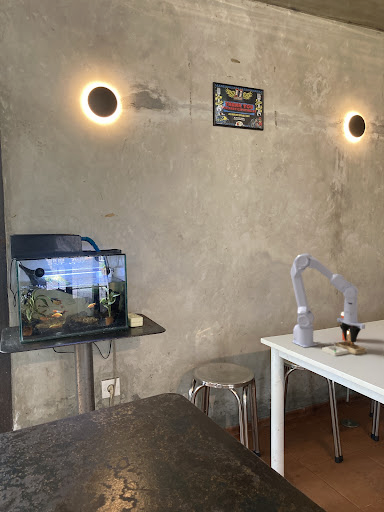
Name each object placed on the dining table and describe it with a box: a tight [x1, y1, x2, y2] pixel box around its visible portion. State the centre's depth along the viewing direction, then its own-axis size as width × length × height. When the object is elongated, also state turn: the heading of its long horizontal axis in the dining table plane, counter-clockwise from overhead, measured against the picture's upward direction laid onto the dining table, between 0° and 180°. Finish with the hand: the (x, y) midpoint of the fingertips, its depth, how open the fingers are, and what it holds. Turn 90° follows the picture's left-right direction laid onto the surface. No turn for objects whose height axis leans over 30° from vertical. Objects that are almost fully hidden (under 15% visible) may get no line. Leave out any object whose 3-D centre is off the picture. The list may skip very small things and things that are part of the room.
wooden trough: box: [334, 340, 367, 356], centre depth 176 cm, size 12×6×2 cm, turn 24°
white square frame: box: [321, 344, 349, 357], centre depth 174 cm, size 8×8×2 cm
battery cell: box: [346, 329, 355, 346], centre depth 176 cm, size 3×3×8 cm
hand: (350, 340), depth 176 cm, fingers closed on battery cell, 3 cm apart
